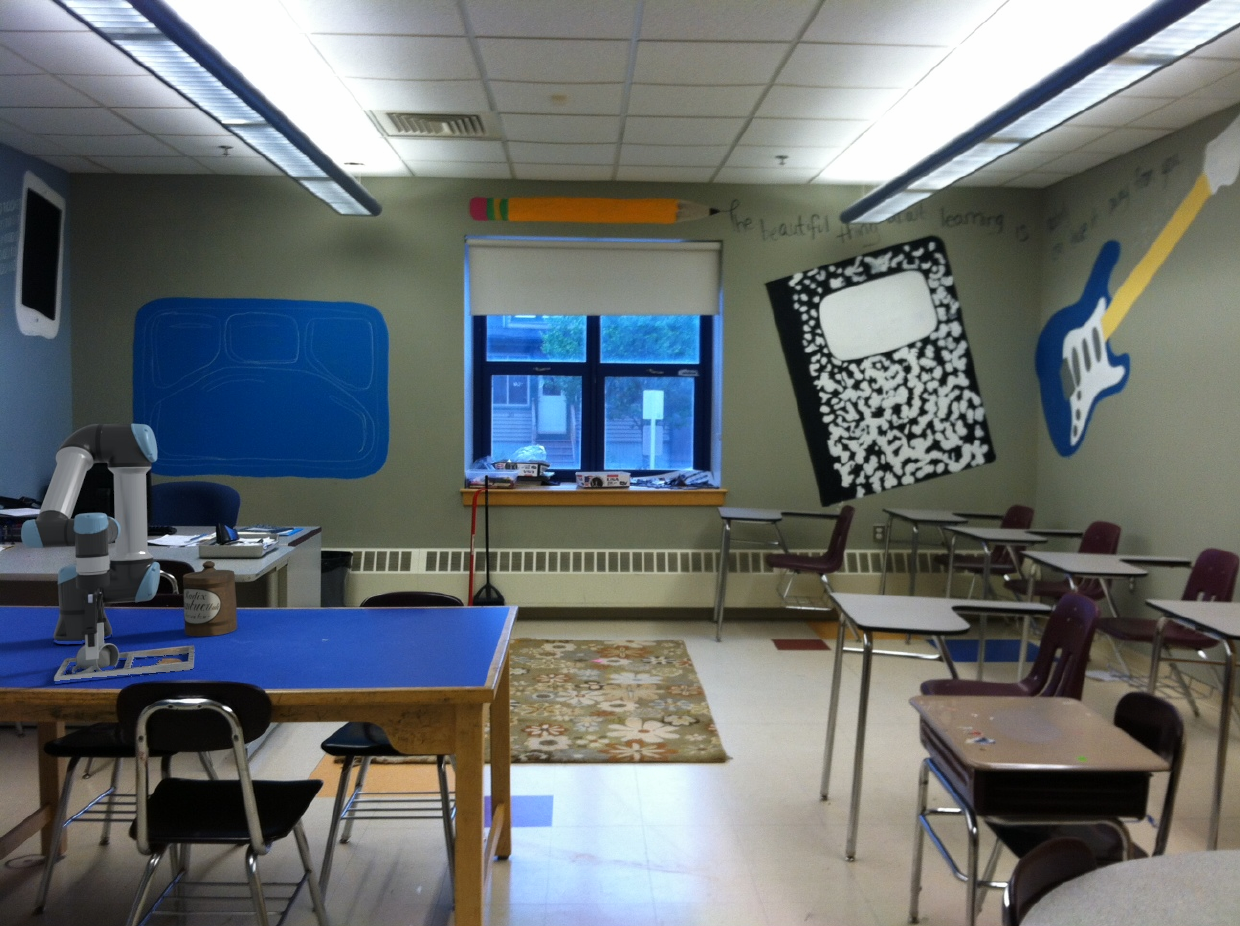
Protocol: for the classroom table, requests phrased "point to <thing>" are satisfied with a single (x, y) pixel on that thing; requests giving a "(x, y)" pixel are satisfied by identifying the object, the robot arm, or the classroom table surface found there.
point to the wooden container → (209, 602)
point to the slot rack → (162, 666)
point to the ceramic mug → (106, 658)
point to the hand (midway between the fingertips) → (95, 653)
